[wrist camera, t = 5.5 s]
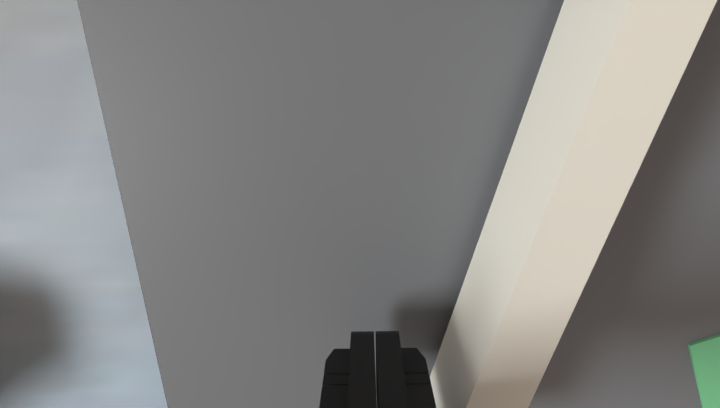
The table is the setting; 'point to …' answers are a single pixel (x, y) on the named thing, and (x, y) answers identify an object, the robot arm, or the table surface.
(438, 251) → the dial plate
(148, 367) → the table surface
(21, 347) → the table surface
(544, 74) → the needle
